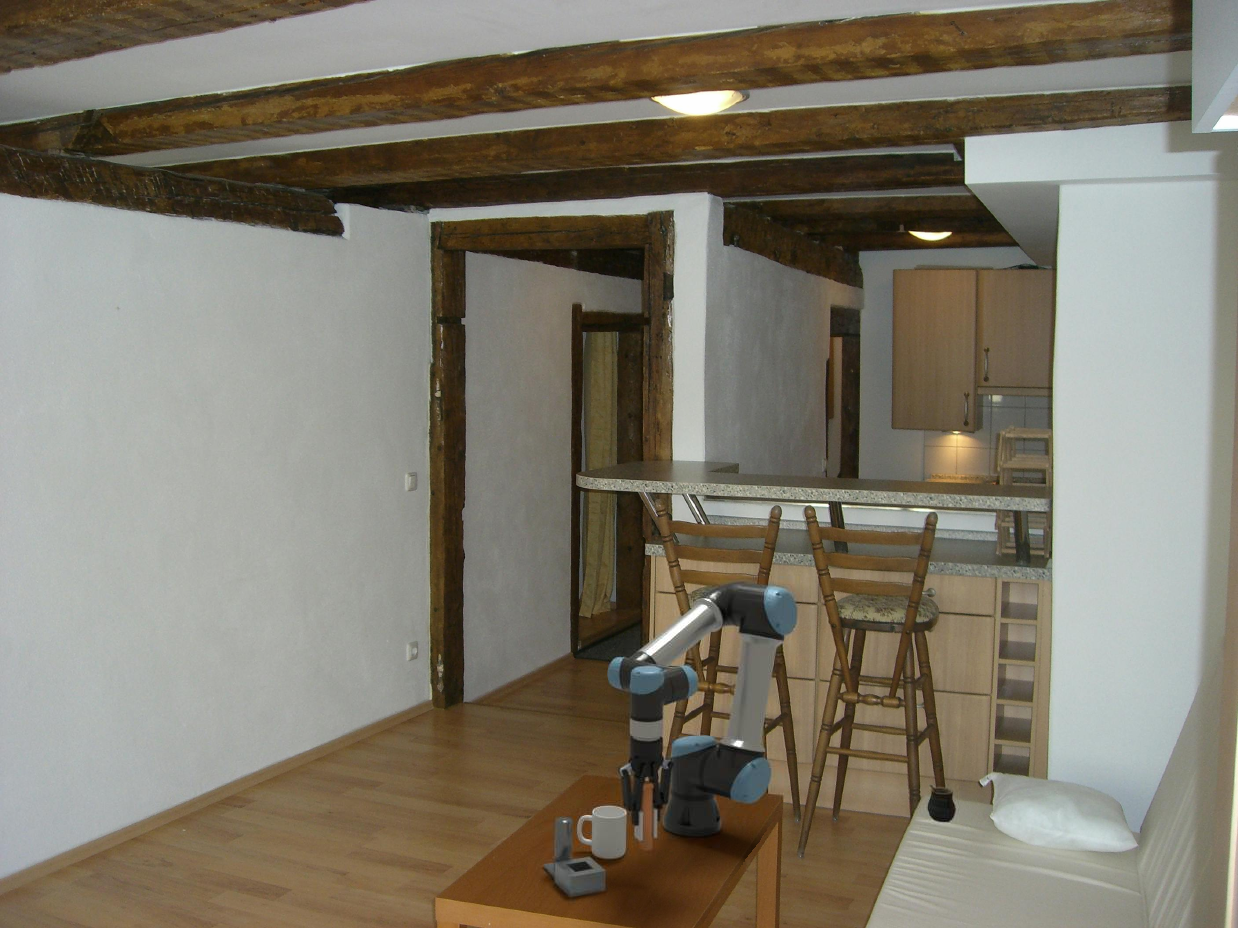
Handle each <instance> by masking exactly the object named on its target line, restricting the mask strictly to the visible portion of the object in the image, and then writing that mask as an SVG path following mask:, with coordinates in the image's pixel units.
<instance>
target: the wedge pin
mask: <svg viewBox="0 0 1238 928" xmlns="http://www.w3.org/2000/svg"><path fill="white" fill-rule="evenodd" d="M653 788H654V786H653V783H652V782H651V781H649V780H645V783H644V785H643V792H642V799H641V806H640V810H641V811H642V812H643V840H642V841H639V840H638V843H639V844H638V849H639V850H641V851H646V852H648V851H651V850H653V837H652V817H653Z"/></svg>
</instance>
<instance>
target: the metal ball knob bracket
mask: <svg viewBox="0 0 1238 928" xmlns="http://www.w3.org/2000/svg"><path fill="white" fill-rule="evenodd" d="M554 824H555V825H554V855H553V856H554V859H553V860H554V862H549V863H544V864H542V868H543V869H544V870H545V871H546V872H547V873H548V874H549V875H550V876H551V877H552V878H554V884H556V885H557V887H559V888H560V889H561V890H562V891H563V892H564V893H565V894H566V895H567V896H568V897H569V898H573V897H579V896H584V895H590V894H596V893H601V892H605V891H606V878H607V877H606V876H607V874H606V869H604V868H603V867H602V866H601V865H600V864H599V863H597V861H595V860H594V859H593V858H592V857H591V856H585V857H581V858H580V857H578V858H573V859H572V854H573V853H572V851H573V818H571V817H566V816H560V817H557V818H555V820H554Z"/></svg>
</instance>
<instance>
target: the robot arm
mask: <svg viewBox="0 0 1238 928" xmlns="http://www.w3.org/2000/svg"><path fill="white" fill-rule="evenodd" d="M691 605H692V606H691V608H690V609H689V610H688V611H687V612H686V613H684V614H683V615H682V616H681V617H679V618H678V619H677V620H675V621H674V622H673V623H671V624H670V625H669V626H668V627H667V628H665V629H664V630H663V631H661V633H659V634H658V635H657V636H655V637H654V638H653V639H652V640H651V641H649V642H648V643H646V644H645V645H644V646H643V647H641V648H640V649H638V650H637V651H636V652H635V653H634V654H633V655H632V656H629V657H626V656H623V657H621V656H618V657H615V658H613V659H612V660H611V662H610V664H609V665H608V667H607V668H608V669H607V679H608V682H609V685H611V686H612V687H614V688H616V689H618V690H622V691H624V692H629V694H630V695H629V697H630V699H629V700H630V701H629V702H630V703H629V704H630V706H629V707H630V711H629V735H630V737H629V760H628V763H627V764H625V765H624V766H621V765H620V766H618V768H617V769H618V773H619V776H620V778H621V791H622V792H621V793H622V802H623V808H624V809H625V810H626V811H627V810H628V811H629V812H631V813H630V814H631V815H630V816H631V824H632V825H633V826H634V838H635V839H637V840H638V842H639V841H642V840H643V812H642V811H641V810H640V806H641V799H642V792H643V785H644V783H645V781H646V778H647V779H648V781H651V782H652V783H653V786H654V788H653V817H652V838H653V839H655V838H656V839H657V838H658V822H661V821H660V820H661V811H662V810H663V808H664V805H666V806H665V809H664V813H663V815H662V827H663V828H664V829H665V830H666V831H668V832H669V833H671V834H675V835H678V836H683V837H699V838H700V837H706V836H707V837H708V836H711V835H715V834H716V833H717V834H718V832H720V831H721V829H722V817H721V814H720V811H719V807H718V802H717V799H716V796H718V797H721V798H725V799H728V800H729V799H730V800H732V801H733V802H736V803H739V802H740V803H743V804H753V803H755V802H758V801H759V800H760V798H761V797H762V796H763V795H764V794H765V793H766V791H767V789H768V787H769V785H770V783H771V778H772V768H771V767H772V766H771V763H770V761H769V760H768V759H767V758H765V755H766V748H764V745H762V736H763V730H764V723H765V717H766V714H767V713H766V712H767V705H768V699H769V695H770V688H771V682H772V676H773V671H774V670H773V669H774V665H775V664H774V663H775V659H776V652H777V648H778V647H779V646H781V645H782V644H783V643H784V640H785V636H788V635H790V634H792V632H794V629H795V628H796V626H797V622H798V607H797V606H798V605H797V603H796V600H795V598H794V595H793V594H792V593H791V592H790V591H789V590H788V589H786V588H784V587H779V586H775V585H768V584H762V583H752V582H745V581H740V580H739V581H730V582H726V583H723V584H721V585H718V586H716V587H714V588H712V589H710V590H708V591H707V592H705V593H704V594H702V595H701V596H699V597H698V598H697V599H696V600H694V602H693V603H692V604H691ZM727 626H730V627H731V626H734V627H738V635H739V637H740V639H741V640H742V645H741V652H740V658H739V663H738V669H737V674H736V681H735V686H734V693H733V699H732V703H731V710H730V715H729V720H728V727H727V734H726V736H725V737H723V738H721V740H720V741H719V743H718V741H717V739H716V738H715V737H714V736H712V735H700V734H699V735H689V736H683V737H679V738H677V739H676V740H674V741H673V742H672V743H671V753H670V754H671V755H670V759H669V758H666V759H665V757H664V756H663V753H664V752H663V751H664V737H662V736H663V735H664V706H667V705H670V704H674V703H676V702H681V701H685V700H687V699H688V698H690V697H693V696H694V695H695V694H696V693H697V691H698V689H699V677H698V675H697V672H695V670H694V669H693V668H692V667H690V666H688V665H681V666H680V665H678V666H675V667H670V665H672V664H673V663H674V662H676V661H677V660H679V658H680V657H681V656H683V655H684V654H685V653H686V652H688V651H689V650H690V649H691V648H693V647H694V646H695V645H696V644H698V643H699V642H700V641H701V640H702V639H703V638H705V637H706V636H707V635H708V634H710V633H715V632H718V631H720V630H721V629H722V628H724V627H727ZM660 768H661V770H660ZM631 770H632V771H633V787H632V780H631V779H632V778H631V775H632V774H631V773H632V772H631ZM659 770H660V774H659ZM659 775H660V777H659ZM659 778H660V779H659ZM659 780H660V781H659Z"/></svg>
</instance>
